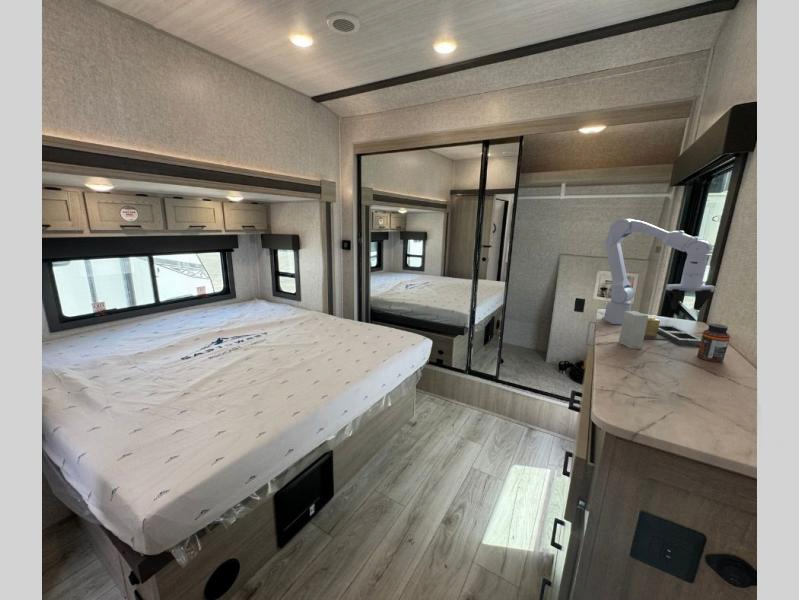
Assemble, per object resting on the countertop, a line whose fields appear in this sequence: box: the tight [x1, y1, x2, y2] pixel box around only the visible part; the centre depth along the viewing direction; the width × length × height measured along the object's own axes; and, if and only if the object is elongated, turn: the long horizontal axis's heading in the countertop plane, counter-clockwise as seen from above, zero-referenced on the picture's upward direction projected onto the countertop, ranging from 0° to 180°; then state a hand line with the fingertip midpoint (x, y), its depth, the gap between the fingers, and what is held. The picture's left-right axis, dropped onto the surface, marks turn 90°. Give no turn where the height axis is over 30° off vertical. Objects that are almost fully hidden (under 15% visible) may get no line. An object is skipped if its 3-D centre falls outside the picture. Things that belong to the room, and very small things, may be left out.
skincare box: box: [618, 310, 649, 350], centre depth 106 cm, size 6×4×12 cm
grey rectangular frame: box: [657, 324, 702, 347], centre depth 115 cm, size 17×8×2 cm, turn 170°
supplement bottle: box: [697, 323, 731, 363], centre depth 96 cm, size 6×6×11 cm
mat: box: [644, 334, 668, 341], centre depth 117 cm, size 9×9×1 cm
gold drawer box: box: [644, 316, 661, 337], centre depth 116 cm, size 4×4×7 cm
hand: (685, 309), depth 115 cm, fingers open, 7 cm apart
